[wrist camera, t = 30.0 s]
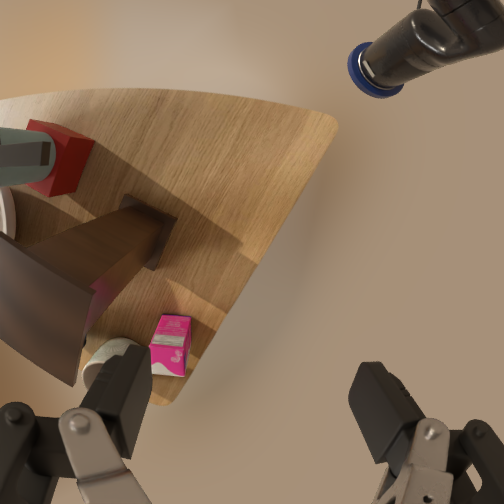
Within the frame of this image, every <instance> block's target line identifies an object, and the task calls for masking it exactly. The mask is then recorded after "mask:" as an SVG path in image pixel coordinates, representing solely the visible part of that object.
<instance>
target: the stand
mask: <svg viewBox="0 0 504 504" xmlns="http://www.w3.org/2000/svg"><path fill="white" fill-rule="evenodd" d="M176 221H177V218H176V217H174V216H172V215H169V214H167V213H165V212H163V211H161V210H159V209H157V208H155V207H153V206H151V205H149V204H147V203H145V202H143V201H141V200H139V199H137V198H135V197H133V196H131V195H129V194H125V195H124V197H123V200H122V202H121V205H120V207H119V210H117V211H114V212H112V213H109V214H106V215H104V216H101V217H99V218H96V219H93V220H91V221H88V222H86V223H83V224H81V225H79V226H76V227H74V228H71V229H69V230H66V231H64V232H62V233H59V234H57V235H55V236H52V237H50V238H48V239H46V240H43V241H41V242H39V243H37V244H35V245H32V246H30V247H28V248H25V247H24V246H22V245H21V244H19V243H18V242H16V241H15V240H14V239H12V238H11V237H9V236H8V235H6V234H5V233H4V232H2V231H0V339H1V340H3V341H4V342H5V343H6V344H8V345H9V346H10V347H12V348H13V349H14V350H16V351H17V352H18V353H20V354H21V355H23V356H24V357H25V358H27V359H28V360H30V361H32V362H33V363H34V364H36V365H37V366H39V367H40V368H42V369H43V370H45V371H46V372H48V373H49V374H51V375H53V376H54V377H56V378H57V379H59V380H61V381H63V382H64V383H66V384H67V385H69V386H71V387H73V386H74V384H75V383H76V378H77V373H78V368H79V363H80V358H81V353H82V348H83V344H84V339H85V335H86V333H87V332H88V331H89V329H90V328H91V327H92V326H93V324H94V323H95V322H96V321H97V320H98V318H99V317H100V316H101V315H102V314H103V312H104V311H105V310H106V309H107V308H108V306H109V305H110V304H111V303H112V302H113V301H114V299H115V298H116V297H117V296H118V295H119V294H120V292H121V291H122V290H123V289H124V288H125V287H126V286H127V284H128V283H129V282H130V281H131V280H132V279H133V278H134V276H135V275H136V274H137V273H138V272H139V271H140V270H141V269H142V267H143V266H144V267H146V268H148V269H150V270H152V271H154V270H155V269H156V267H157V264H158V262H159V260H160V257H161V255H162V253H163V250H164V248H165V246H166V243H167V241H168V239H169V237H170V234H171V232H172V230H173V228H174V225H175V223H176Z"/></svg>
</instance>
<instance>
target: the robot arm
mask: <svg viewBox="0 0 504 504" xmlns="http://www.w3.org/2000/svg"><path fill="white" fill-rule="evenodd" d="M427 1H428V3H429V4H430V6H431V7H432V8H433V9H434V11H435V12H434V11H431V10H428V9H420V8H421V3H422V0H419V1H418V5H417V10H414V11H413V12H411V13H410V14H408V15H407V16H406V17H405V18H403V19H402V20H401V21H399V22H398V23H397V24H396V25H394V26H393V27H392V28H391V29H389V30H388V31H387V32H386V33H384V34H383V35H382V36H381V37H379V38H378V39H377V40H376V41H375V42H373V43H372V44H371V45H369V46H368V47H367V48H365V49H364V50H363V51H362V52H361V53H360V54H359V56H358V68H359V71H360V73H361V75H362V77H363V78H364V79H365V80H366V81H367V82H368V83H369V84H370V85H371V86H373V87H375V88H377V89H380V90H391V89H393V88H395V87H396V86H398V85H401V84H403V83H405V82H408V81H410V80H412V79H415V78H417V77H419V76H422V75H424V74H426V73H429V72H431V71H434V70H436V69H439V68H441V67H444V66H446V65H450V64H454V63H457V62H460V61H463V60H466V59H470V58H474V57H479V56H483V55H487V54H490V53H494V52H497V51H500V50H502V49H504V5H503V4H502V3H501V1H500V0H427ZM151 391H152V365H151V350H150V347H145V346H140V345H134V344H129V346H128V347H127V349H126V351H125V353H124V355H123V356H121V355H116V354H115V355H114V356H112V357H111V358H109V359H108V360H106V361H105V363H104V364H103V366H102V368H101V369H100V372H99V373H98V374H97V376H96V379H95V380H94V381H93V383H92V385H91V387H90V388H89V390H88V392H87V394H86V396H85V397H84V399H83V401H82V403H81V405H80V406H79V407H78V408H73V409H69V410H67V411H66V412H65V413H63V414H62V415H61V417H60V418H50V417H40V416H35V414H34V412H33V410H32V409H31V408H30V407H29V406H28V405H27V404H24V403H22V402H11V403H8V404H5V405H4V406H2V407H1V408H0V504H51V501H52V497H53V494H54V491H55V488H56V485H57V482H58V479H59V477H64V478H77V486H78V489H79V491H80V493H81V495H82V498H83V500H84V502H85V504H152V503H151V501H150V500H149V499H148V497H147V495H146V494H145V492H144V491H143V489H142V488H141V486H140V485H139V483H138V482H137V480H136V478H135V477H134V475H133V473H132V472H131V471H130V469H127V467H126V466H125V464H124V462H123V461H122V459H121V457H122V458H126V459H131V457H132V453H133V450H134V446H135V443H136V440H137V436H138V433H139V430H140V426H141V423H142V420H143V417H144V414H145V410H146V407H147V404H148V401H149V398H150V395H151ZM348 399H349V400H348V401H349V405H350V408H351V410H352V412H353V414H354V417H355V419H356V421H357V423H358V425H359V428H360V430H361V432H362V434H363V437H364V438H365V441H366V443H367V446H368V448H369V450H370V452H371V455H372V457H373V459H374V461H375V464H379V463H384V462H388V464H389V466H388V467H387V468H386V470H385V472H384V475H383V478H382V480H381V483H380V485H379V488H378V490H377V492H376V495H375V497H374V499H373V502H372V504H504V445H503V443H502V442H501V441H500V439H499V438H498V436H497V435H496V434H495V432H494V431H493V430H492V428H491V427H490V426H489V425H488V424H487V423H486V422H484V421H482V420H477V419H474V420H471V421H469V422H468V423H467V424H466V426H465V427H464V429H463V430H449V429H448V427H447V426H446V425H445V424H444V423H443V422H441V421H439V420H437V419H434V418H426V417H425V415H424V414H423V412H422V411H421V409H420V408H419V406H418V405H417V404H416V402H415V401H414V399H413V398H412V396H410V393H409V392H408V391H407V390H405V387H404V385H403V384H402V382H401V381H400V380H399V379H398V378H397V377H395V376H394V375H393V374H391V373H388V371H387V370H386V368H385V367H384V366H383V364H382V363H381V362H362V363H361V364H360V366H359V368H358V371H357V373H356V376H355V378H354V381H353V383H352V386H351V388H350V391H349V396H348ZM472 463H473V465H474V467H475V468H476V470H477V471H478V473H479V475H480V477H481V479H482V486H481V489H480V490H479V491H478V492H477V491H476V489H475V487H474V485H473V483H472V482H471V480H470V478H469V476H468V474H467V473H466V470H467V469H468V468H469V467H470V466H471V465H472Z"/></svg>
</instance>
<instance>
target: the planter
mask: <svg viewBox="0 0 504 504" xmlns="http://www.w3.org/2000/svg"><path fill="white" fill-rule="evenodd" d="M129 344H134V345H139V344H138V343H136V342H135V341H133V340H130V339H127V338H123V337H116V338H112V339H109V340H108V341H106V342H105V343H104V344H103V345H101V346H100V348H99V349H98V350H97V351H96V352H95V354H94V355H93V356H92V358H91V359H90V360H89V362H88V363H87V364H86V366H85V367H84V369H83V371H82V381H83V384H84V386H85V388H86V390H87V391H88V390H89V388H90V387H91V385H92V383H93V381H94V380H95V379H96V376H97V374H98V373H99V372H100V369H101V368H102V366H103V364H104V363H105V361H106V360H108V359H109V358H111V357H112V356H114V355H115V354H116V355H121V356H123V355H124V353H125V351H126V349H127V347H128V346H129Z"/></svg>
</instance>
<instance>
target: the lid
mask: <svg viewBox="0 0 504 504" xmlns="http://www.w3.org/2000/svg"><path fill="white" fill-rule="evenodd" d="M50 148H51V142H46V141H38V142H26V143H15V144H6V145H1V140H0V167H20V166H48V165H49V158H50Z"/></svg>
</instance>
